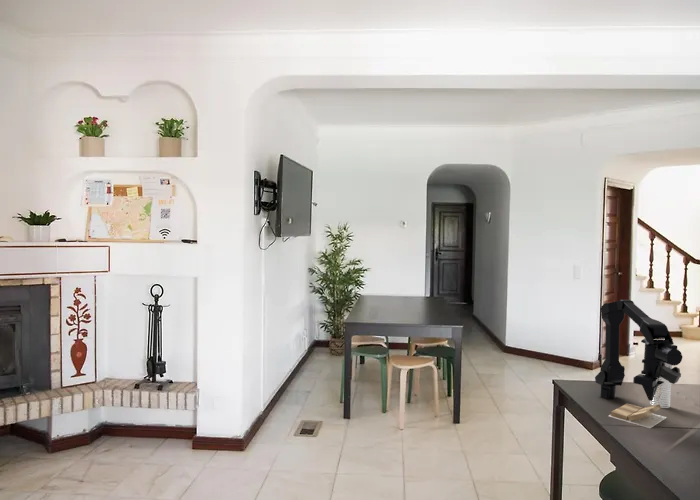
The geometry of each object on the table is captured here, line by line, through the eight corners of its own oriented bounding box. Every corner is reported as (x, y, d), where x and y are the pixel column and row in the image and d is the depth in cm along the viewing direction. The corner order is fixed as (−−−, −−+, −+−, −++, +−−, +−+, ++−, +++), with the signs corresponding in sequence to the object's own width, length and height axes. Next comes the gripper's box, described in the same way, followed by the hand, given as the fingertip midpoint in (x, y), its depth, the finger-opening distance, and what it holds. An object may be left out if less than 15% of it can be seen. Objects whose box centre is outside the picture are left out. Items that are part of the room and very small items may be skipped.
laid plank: (626, 407, 195) (627, 403, 195) (642, 411, 191) (642, 407, 191) (610, 415, 185) (610, 411, 185) (626, 420, 181) (626, 416, 181)
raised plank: (645, 411, 190) (643, 407, 191) (661, 407, 186) (659, 403, 187) (629, 420, 180) (627, 416, 181) (646, 417, 176) (644, 412, 177)
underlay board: (626, 408, 196) (626, 406, 196) (666, 420, 186) (666, 417, 186) (607, 418, 185) (608, 415, 185) (649, 431, 175) (650, 428, 175)
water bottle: (672, 411, 195) (676, 347, 194) (653, 409, 197) (657, 346, 195) (665, 405, 202) (669, 343, 201) (646, 403, 203) (650, 342, 202)
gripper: (669, 367, 169) (666, 412, 170) (687, 358, 181) (684, 401, 182) (634, 359, 178) (631, 403, 178) (653, 352, 190) (650, 393, 191)
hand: (650, 400), depth 182 cm, fingers closed
